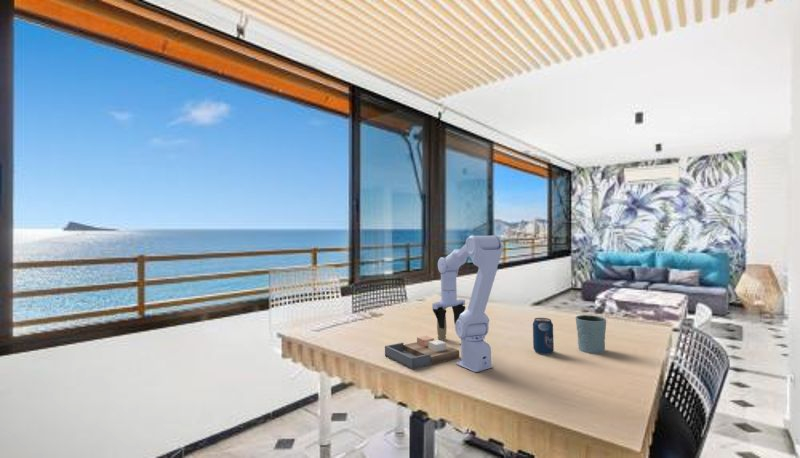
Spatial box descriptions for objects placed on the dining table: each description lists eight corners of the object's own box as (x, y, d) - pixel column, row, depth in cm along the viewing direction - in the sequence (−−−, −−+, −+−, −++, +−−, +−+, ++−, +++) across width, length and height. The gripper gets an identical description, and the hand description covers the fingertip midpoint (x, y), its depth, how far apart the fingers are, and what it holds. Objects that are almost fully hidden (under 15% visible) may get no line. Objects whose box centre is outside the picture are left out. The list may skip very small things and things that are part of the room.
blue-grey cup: (599, 346, 139) (598, 315, 139) (612, 355, 129) (611, 321, 129) (572, 346, 140) (571, 314, 140) (582, 354, 130) (581, 320, 130)
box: (431, 364, 121) (431, 354, 121) (412, 369, 117) (411, 358, 117) (403, 351, 135) (403, 342, 136) (384, 355, 131) (384, 346, 131)
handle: (448, 341, 148) (447, 304, 149) (433, 340, 150) (432, 303, 151) (450, 338, 153) (450, 302, 153) (435, 337, 155) (435, 301, 155)
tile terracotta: (433, 345, 135) (433, 338, 135) (424, 347, 132) (424, 340, 133) (426, 342, 139) (426, 335, 139) (417, 344, 136) (416, 337, 136)
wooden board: (459, 357, 128) (459, 350, 128) (431, 364, 121) (431, 357, 121) (429, 345, 142) (429, 339, 142) (403, 351, 135) (403, 345, 136)
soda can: (550, 356, 128) (549, 322, 128) (530, 352, 132) (530, 319, 132) (556, 351, 133) (555, 318, 134) (536, 348, 138) (535, 316, 138)
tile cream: (446, 349, 129) (446, 342, 129) (436, 351, 127) (436, 344, 127) (438, 346, 133) (438, 339, 133) (428, 348, 130) (428, 341, 130)
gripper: (455, 287, 143) (456, 321, 142) (426, 290, 135) (427, 327, 134) (468, 288, 137) (469, 325, 136) (439, 292, 129) (439, 330, 128)
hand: (449, 326), depth 135 cm, fingers open, 7 cm apart
